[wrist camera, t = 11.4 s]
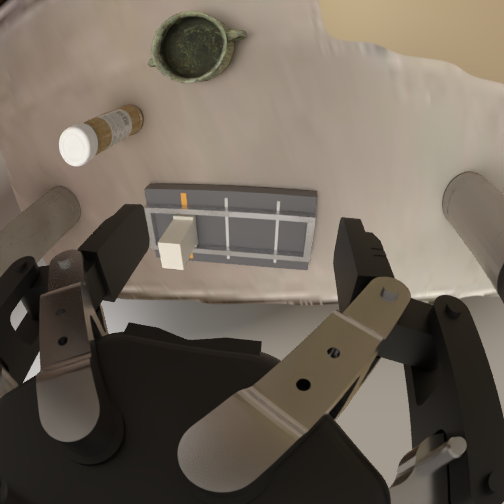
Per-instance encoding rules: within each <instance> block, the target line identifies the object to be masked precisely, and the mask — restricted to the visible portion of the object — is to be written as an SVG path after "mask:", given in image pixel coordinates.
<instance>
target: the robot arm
mask: <svg viewBox="0 0 504 504" xmlns="http://www.w3.org/2000/svg"><path fill="white" fill-rule="evenodd" d="M443 212H444V214H445V217H446V218H447V220H448V221H449V222H450V223H451V225H452V226H453V227H454V229H455V230H456V231H457V233H458V234H459V236H460V237H461V238H462V240H463V241H464V243H465V244H466V245H467V247H468V248H469V250H470V251H471V252H472V254H473V255H474V257H475V258H476V260H477V261H478V263H479V264H480V266H481V267H482V269H483V270H484V272H485V273H486V275H487V276H488V278H489V279H490V281H491V283H492V284H493V286H494V288H495V289H496V291H497V293H498V294H499V296H500V297H501V299H502V301H503V303H504V195H503V194H502V193H501V192H500V191H499V190H497V189H496V188H495V187H494V186H493V185H492V184H490V183H489V182H488V181H487V180H486V179H484V178H483V177H482V176H480V175H479V174H477V173H474V172H466V173H462V174H460V175H459V176H457V177H456V178H455V179H453V180H452V182H451V183H450V184H449V185H448V187H447V189H446V191H445V194H444V197H443ZM149 243H150V237H149V232H148V226H147V221H146V216H145V210H144V207H143V206H142V205H141V204H125V205H123V206H122V207H121V208H120V209H119V210H118V211H117V212H116V213H115V214H114V215H113V216H112V217H110V218H108V219H107V220H105V221H104V222H103V223H102V224H101V225H100V226H99V227H98V229H96V230H95V231H94V232H93V234H91V235H90V236H89V238H88V239H87V240H86V241H85V242H84V243H83V244H82V245H81V246H80V247H79V248H78V250H67V251H64V252H62V253H60V254H58V255H57V256H55V257H54V258H53V259H52V260H51V262H50V264H49V265H48V266H41V267H38V266H37V263H36V261H35V259H34V257H32V256H25V257H22V258H19V259H18V260H16V261H15V262H13V263H12V264H11V265H10V267H9V268H8V269H7V270H6V271H5V272H4V273H3V275H2V276H1V277H0V504H502V503H503V502H504V418H503V413H502V409H501V405H500V401H499V397H498V393H497V389H496V385H495V382H494V379H493V375H492V372H491V369H490V366H489V362H488V359H487V356H486V353H485V350H484V347H483V345H482V342H481V339H480V337H479V334H478V331H477V329H476V326H475V323H474V321H473V319H472V316H471V314H470V311H469V309H468V308H467V306H466V305H465V304H464V303H463V302H462V301H461V300H459V299H458V298H456V297H453V296H450V295H441V296H439V297H437V298H436V300H435V302H434V304H433V305H431V304H427V303H424V302H421V301H417V300H415V299H412V298H411V294H410V291H409V289H408V288H407V287H406V286H405V285H404V284H403V283H402V282H400V281H399V280H397V279H395V278H394V275H393V272H392V270H391V267H390V264H389V262H388V259H387V258H386V254H385V251H383V246H382V244H381V241H380V240H379V239H378V238H377V237H376V236H375V235H374V234H373V233H370V232H365V230H364V227H363V224H362V222H361V220H360V219H355V218H345V217H342V218H341V220H340V224H339V229H338V235H337V240H336V245H335V251H334V261H333V264H334V273H335V280H336V287H337V294H338V302H339V310H340V311H338V310H335V311H334V312H332V313H331V314H330V315H329V316H328V317H327V318H326V319H325V320H324V321H323V322H322V323H321V324H320V325H319V326H318V327H317V328H316V329H315V330H314V331H313V332H312V333H311V334H310V335H309V336H308V337H306V338H305V339H304V341H302V342H301V343H300V344H299V345H298V346H297V347H296V348H295V349H294V350H293V351H292V352H290V353H289V354H288V355H287V356H286V357H285V358H284V359H283V360H282V361H280V360H278V359H277V358H275V357H273V356H271V355H269V354H266V353H263V352H261V343H262V342H261V341H253V340H243V339H234V338H214V339H200V340H187V339H184V338H182V337H179V336H176V335H174V334H172V333H169V332H167V331H165V330H162V329H160V328H156V327H151V326H145V325H140V324H135V323H128V325H127V328H126V329H125V331H124V332H119V333H112V334H108V330H107V325H106V321H105V317H104V312H103V308H102V306H101V302H102V300H105V301H110V302H115V300H116V299H117V297H118V295H119V294H120V292H121V291H122V289H123V287H124V286H125V284H126V283H127V281H128V279H129V278H130V276H131V275H132V273H133V272H134V270H135V269H136V267H137V266H138V264H139V262H140V261H141V259H142V258H143V256H144V255H145V253H146V252H147V250H148V248H149ZM20 300H21V301H22V303H23V305H24V306H25V308H26V310H27V314H26V315H25V317H24V318H23V320H22V321H21V323H20V325H19V326H18V328H17V329H16V331H15V330H14V328H13V327H12V325H11V322H10V316H11V313H12V311H13V310H14V308H15V307H16V306H17V304H18V303H19V301H20ZM39 351H40V365H41V370H40V372H39V373H38V374H37V375H36V376H34V377H32V378H31V379H29V380H27V381H26V382H24V383H23V381H24V379H25V377H26V375H27V373H28V371H29V370H30V368H31V366H32V364H33V362H34V360H35V358H36V356H37V355H38V352H39ZM382 357H383V358H386V359H389V360H393V361H397V362H400V363H403V364H404V370H405V378H406V385H407V393H408V401H409V411H410V422H411V435H412V450H411V451H409V452H408V453H407V454H406V455H405V456H404V457H403V458H402V459H401V461H400V463H399V466H398V471H397V476H396V479H395V481H394V483H393V484H392V485H391V487H390V488H388V486H387V484H386V482H385V480H384V478H383V477H382V475H381V474H380V473H379V472H378V471H377V469H376V468H375V467H374V466H373V465H372V464H371V463H370V462H369V460H368V459H367V458H366V457H365V456H364V455H363V453H361V451H360V450H359V449H358V448H357V447H356V445H355V444H354V443H353V442H352V441H351V439H350V438H349V437H348V436H347V435H346V433H345V432H344V431H343V430H342V429H341V427H340V426H339V425H338V424H337V423H336V421H335V420H336V419H337V418H338V417H339V416H340V414H341V413H342V412H343V411H344V409H345V408H346V406H347V405H348V404H349V402H350V401H351V399H352V398H353V397H354V395H355V394H356V392H357V391H358V390H359V388H360V387H361V386H362V384H363V383H364V382H365V380H366V379H367V378H368V376H369V375H370V373H371V372H372V371H373V369H374V368H375V366H376V365H377V364H378V362H379V360H380V359H381V358H382ZM22 383H23V384H22Z"/></svg>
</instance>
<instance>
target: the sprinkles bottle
mask: <svg viewBox="0 0 504 504" xmlns="http://www.w3.org/2000/svg"><path fill="white" fill-rule="evenodd" d="M142 123H143V116H142V114H141V112H140V110H139V109H138V108H137V107H135V106H132V105H125V106H123V107H121V108H119V109H116V110H114V111H110V112H107V113H104V114H102V115H100V116H98V117H95V118H93V119H91V120H88V121H86V122H84V123H78V124H75V125H73V126H71V127H69V128H67V129H66V130H65V131H64V132H63V133H62V135H61V137H60V141H59V149H60V153H61V155H62V157H63V159H64V160H65V161H66V162H67V163H68V164H70V165H72V166H81V165H83V164H85V163H87V162H88V161H90V160H91V159H93V158H94V156H95V155H97V154H98V153H100V152H102V151H104V150H106V149H108V148H109V147H111V146H113V145H114V144H116V143H118V142H120V141H122V140H123V139H125V138H127V137H128V136H130V135H133V134H135V133H137V132H138V131H139V130H140V129H141V127H142Z"/></svg>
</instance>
